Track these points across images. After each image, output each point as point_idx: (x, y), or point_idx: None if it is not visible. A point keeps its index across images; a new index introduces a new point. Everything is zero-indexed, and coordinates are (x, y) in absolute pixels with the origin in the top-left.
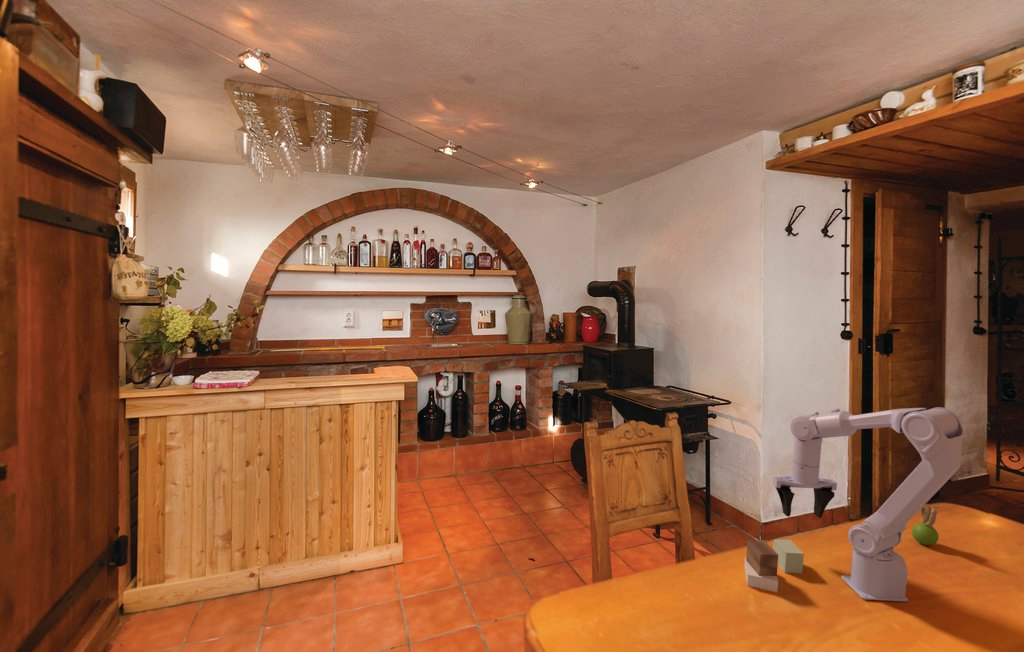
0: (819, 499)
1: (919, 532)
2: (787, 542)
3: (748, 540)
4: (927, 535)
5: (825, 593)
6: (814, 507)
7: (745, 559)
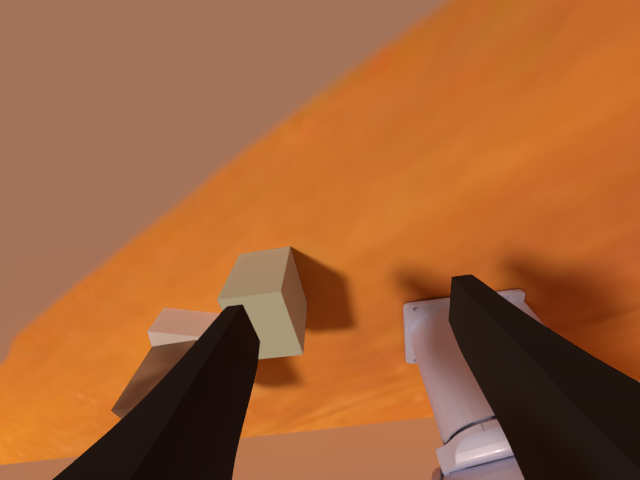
0: (549, 471)
1: None
2: (265, 308)
3: (114, 411)
4: None
5: (334, 354)
6: (480, 311)
7: (151, 340)
